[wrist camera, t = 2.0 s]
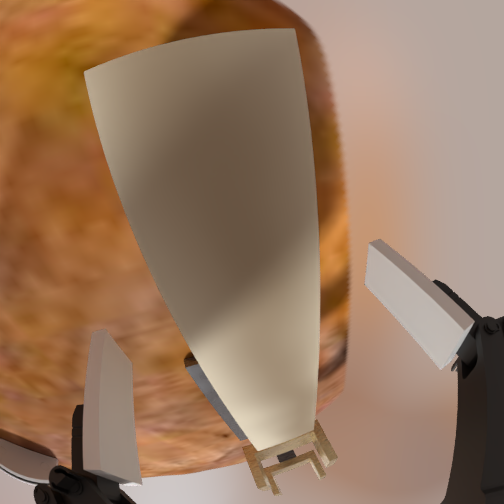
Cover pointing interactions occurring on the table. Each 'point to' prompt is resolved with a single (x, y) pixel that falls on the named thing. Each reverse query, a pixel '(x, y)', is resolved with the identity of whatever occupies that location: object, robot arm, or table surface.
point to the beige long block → (225, 211)
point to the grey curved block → (25, 464)
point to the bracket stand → (282, 451)
